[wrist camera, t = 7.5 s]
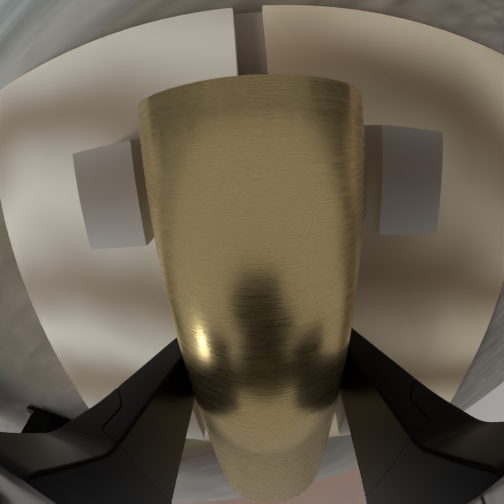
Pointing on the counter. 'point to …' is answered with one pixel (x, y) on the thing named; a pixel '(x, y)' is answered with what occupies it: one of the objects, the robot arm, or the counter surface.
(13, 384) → the counter surface
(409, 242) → the hinge leaves
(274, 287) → the hinge pin
